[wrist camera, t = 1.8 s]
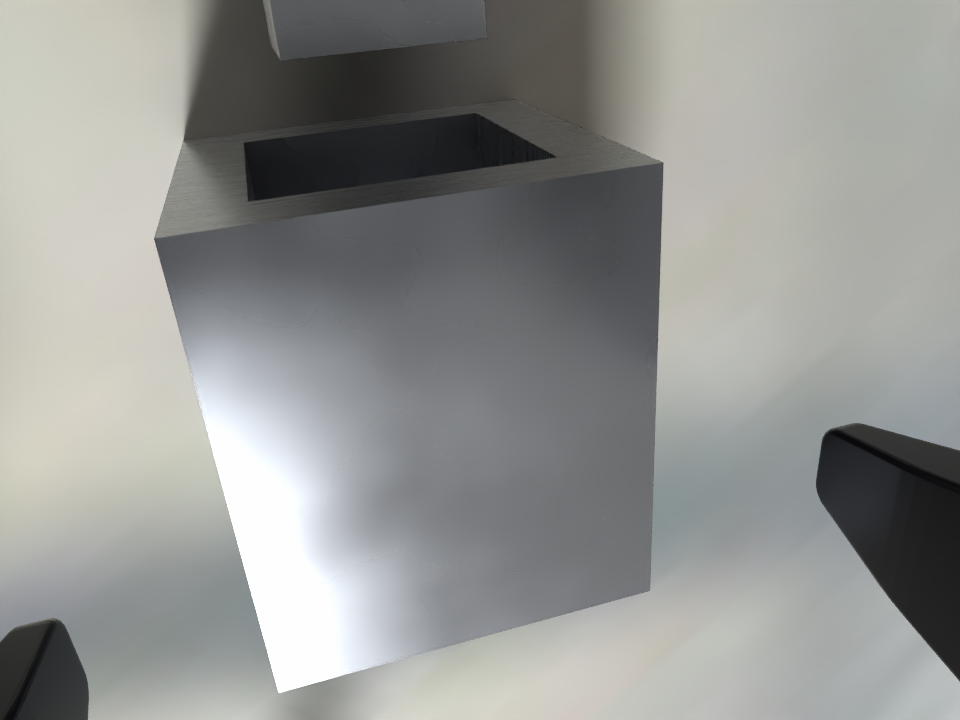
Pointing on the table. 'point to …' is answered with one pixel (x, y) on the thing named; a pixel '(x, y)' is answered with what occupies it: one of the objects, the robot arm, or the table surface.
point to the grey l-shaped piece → (369, 25)
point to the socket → (422, 371)
